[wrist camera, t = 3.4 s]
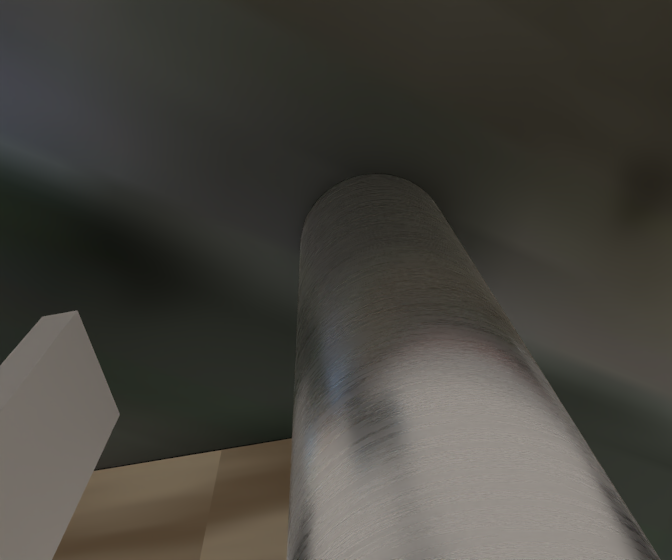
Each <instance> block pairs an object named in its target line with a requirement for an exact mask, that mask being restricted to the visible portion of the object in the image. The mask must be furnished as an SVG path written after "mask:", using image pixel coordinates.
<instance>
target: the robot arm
mask: <svg viewBox="0 0 672 560" xmlns="http://www.w3.org/2000/svg"><path fill="white" fill-rule="evenodd" d="M119 415H120V413H119V411H118V408H117V406H116V404H115V401H114V399H113V396H112V394H111V391H110V389H109V386H108V384H107V382H106V379H105V377H104V374H103V372H102V369H101V367H100V364H99V362H98V360H97V357H96V355H95V352H94V350H93V347H92V345H91V342H90V340H89V338H88V335H87V333H86V330H85V328H84V325H83V323H82V320H81V318H80V316H79V313H78V311H71V312H66V313H60V314H54V315H49V316H43V317H42V318H41V319H40V320H39V321H38V322H37V323H36V325H35V326H34V327H33V328H32V329H31V330H30V332H29V333H28V334H27V335H26V336H25V337H24V338H23V340H22V341H21V342H20V343H19V344H18V345H17V347H16V348H15V349H14V350H13V351H12V352H11V354H10V355H9V356H8V357H7V358H6V359H5V360H4V362H3V363H2V364H1V365H0V560H52V559H53V557H54V554H55V552H56V550H57V548H58V546H59V544H60V542H61V539H62V537H63V535H64V533H65V531H66V529H67V527H68V524H69V522H70V520H71V518H72V516H73V514H74V512H75V509H76V507H77V505H78V503H79V501H80V499H81V497H82V494H83V492H84V490H85V488H86V486H87V484H88V482H89V479H90V477H91V475H92V473H93V471H94V469H95V467H96V465H97V462H98V460H99V458H100V456H101V454H102V452H103V450H104V447H105V445H106V443H107V441H108V439H109V437H110V435H111V432H112V430H113V428H114V426H115V424H116V422H117V420H118V417H119Z"/></svg>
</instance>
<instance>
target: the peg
mask: <svg viewBox="0 0 672 560" xmlns="http://www.w3.org/2000/svg"><path fill="white" fill-rule="evenodd" d="M287 560H660V558H659V557H658V555H657V554H656V552H655V550H654V549H653V547H652V546H651V544H650V543H649V541H648V539H647V538H646V536H645V535H644V533H643V531H642V530H641V528H640V527H639V525H638V523H637V522H636V520H635V519H634V517H633V516H632V514H631V512H630V511H629V509H628V508H627V506H626V504H625V503H624V501H623V500H622V498H621V497H620V495H619V493H618V492H617V490H616V489H615V487H614V485H613V484H612V482H611V481H610V479H609V477H608V476H607V474H606V473H605V471H604V470H603V468H602V466H601V465H600V463H599V462H598V460H597V458H596V457H595V455H594V454H593V452H592V451H591V449H590V447H589V446H588V444H587V443H586V441H585V439H584V438H583V436H582V435H581V433H580V432H579V430H578V428H577V427H576V425H575V424H574V422H573V420H572V419H571V417H570V416H569V414H568V412H567V411H566V409H565V408H564V406H563V405H562V403H561V401H560V400H559V398H558V397H557V395H556V393H555V392H554V390H553V389H552V387H551V386H550V384H549V382H548V381H547V379H546V378H545V376H544V374H543V373H542V371H541V370H540V368H539V366H538V365H537V363H536V362H535V360H534V359H533V357H532V355H531V354H530V352H529V351H528V349H527V347H526V346H525V344H524V343H523V341H522V340H521V338H520V336H519V335H518V333H517V332H516V330H515V328H514V327H513V325H512V324H511V322H510V320H509V319H508V317H507V316H506V314H505V313H504V311H503V309H502V308H501V306H500V305H499V303H498V301H497V300H496V298H495V297H494V295H493V294H492V292H491V290H490V289H489V287H488V286H487V284H486V282H485V281H484V279H483V278H482V276H481V274H480V273H479V271H478V270H477V268H476V267H475V265H474V263H473V262H472V260H471V259H470V257H469V255H468V254H467V252H466V251H465V249H464V248H463V246H462V244H461V243H460V241H459V240H458V238H457V236H456V235H455V233H454V232H453V230H452V228H451V227H450V225H449V224H448V222H447V221H446V219H445V217H444V216H443V214H442V213H441V211H440V209H439V208H438V206H437V205H436V203H435V202H434V201H433V199H432V198H431V197H430V196H429V195H428V194H427V193H426V192H425V191H424V190H422V189H421V188H420V187H419V186H417V185H415V184H414V183H412V182H410V181H408V180H405V179H403V178H400V177H396V176H393V175H386V174H368V175H361V176H357V177H353V178H350V179H348V180H345V181H343V182H341V183H339V184H337V185H335V186H334V187H332V188H331V189H330V190H328V191H327V192H326V193H325V194H324V195H323V196H322V197H320V198H319V200H318V201H317V202H316V203H315V204H314V206H313V207H312V209H311V210H310V212H309V214H308V216H307V218H306V220H305V223H304V226H303V230H302V234H301V244H300V266H299V289H298V312H297V335H296V357H295V380H294V403H293V426H292V448H291V471H290V494H289V517H288V540H287Z"/></svg>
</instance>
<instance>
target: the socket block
mask: <svg viewBox="0 0 672 560" xmlns="http://www.w3.org/2000/svg"><path fill="white" fill-rule="evenodd" d="M291 448H292V438H291V439H285V440H279V441H273V442H267V443H261V444H255V445H249V446H243V447H237V448H231V449H225V450H218V451H212V452H206V453H200V454H194V455H188V456H182V457H176V458H170V459H164V460H158V461H152V462H146V463H140V464H134V465H127V466H121V467H115V468H109V469H103V470H97V471H93V473H92V475H91V477H90V479H89V482H88V484H87V486H86V488H85V490H84V492H83V494H82V497H81V499H80V501H79V503H78V505H77V507H76V509H75V512H74V514H73V516H72V518H71V520H70V522H69V524H68V527H67V529H66V531H65V533H64V535H63V537H62V539H61V542H60V544H59V546H58V548H57V550H56V552H55V554H54V557H53V559H52V560H287V540H288V517H289V494H290V471H291Z"/></svg>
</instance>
